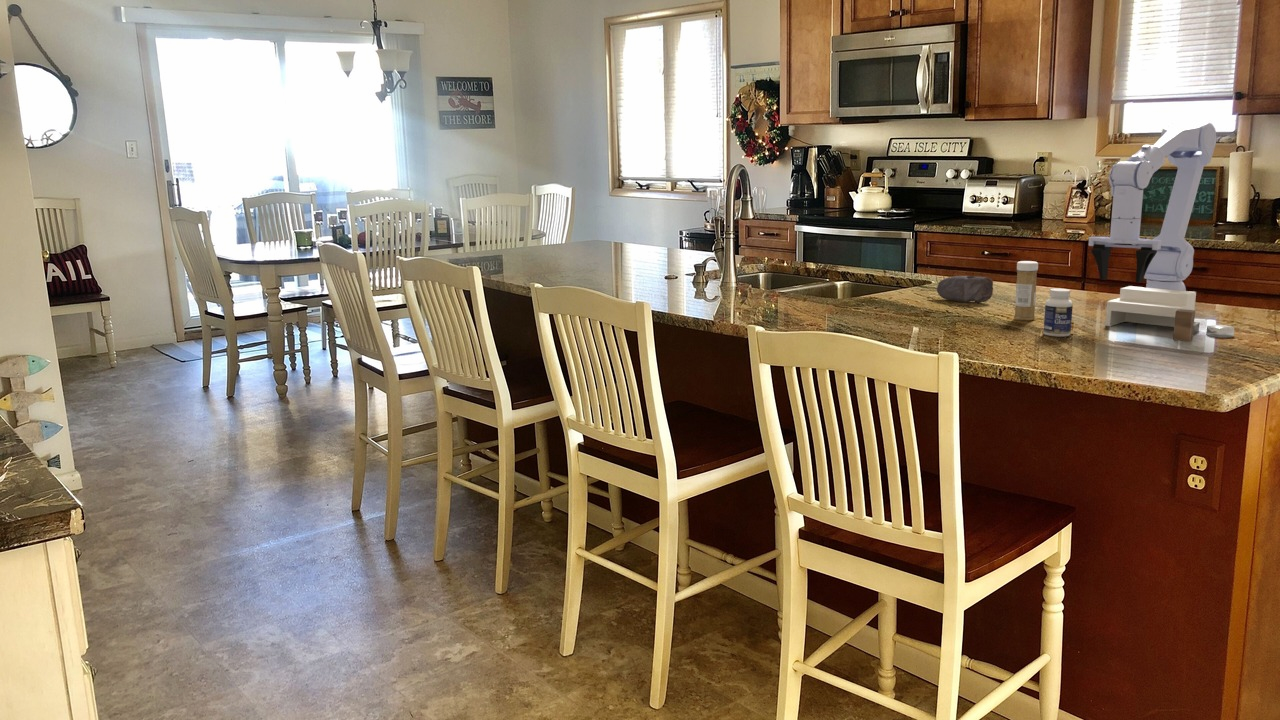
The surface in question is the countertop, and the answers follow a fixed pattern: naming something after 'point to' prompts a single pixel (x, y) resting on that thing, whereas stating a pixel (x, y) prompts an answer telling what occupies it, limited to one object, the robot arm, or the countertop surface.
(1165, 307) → the stepped stand
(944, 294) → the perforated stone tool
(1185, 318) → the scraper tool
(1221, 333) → the steel puck
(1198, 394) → the countertop surface
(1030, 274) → the sprinkles bottle
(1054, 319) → the pill bottle
